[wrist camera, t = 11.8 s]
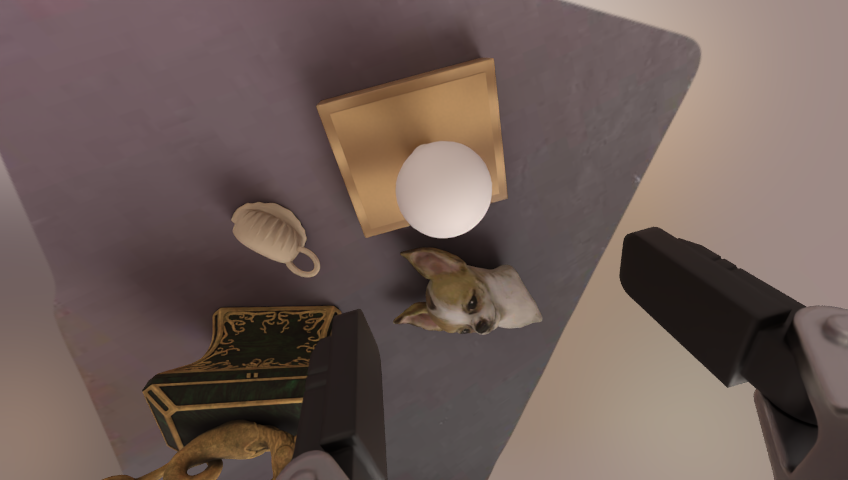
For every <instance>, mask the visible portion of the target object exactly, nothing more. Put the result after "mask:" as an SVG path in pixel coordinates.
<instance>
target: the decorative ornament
mask: <svg viewBox="0 0 848 480" xmlns="http://www.w3.org/2000/svg"><path fill="white" fill-rule="evenodd" d="M231 221H232V222H233V223H234V224H235V226H234V228H233V233H234V235H235V237H236V238H237V239H238V240H239V241H240V242H241V243H242V244H244V245H245V246H247V247H248V248H250V249H252V250H253V251H255V252H257V253H259V254H261V255H263V256H265V257H267V258H270V259H272V260H275V261H278V262H281V263H286V265H287V267H288V268H289V269H290V270H291V271H292V272H293V273H295V274H297V275H299V276H302V277H313V276H315V275H316V274H317V273H318V272H319V270H320V262H319V259H318V258H317V256H316V255H315V254H314V253H313V252H312V251H311V250H309V249H307V248H304V245H305V242H306V240H307V237H306V235H305V229H304V228H303V227H302V226H301V223H300V221H299V220H298V219H297V218H296V217H295V216H294V214H293V213H292V212H291V211H290V210H288V209H285V208H283V207H282V206H280V205H278V204H275V203H266V204H264V203H262V202H256V203H254V204H251V203H246V204H244V205H243V206H241V207H239V208H238V209H237V210H236V211H235V213H234V214H233V217H232V220H231ZM299 252H302V253H304V254H306V255H308V256H309V257H310V258H311V259H312V260H313V262H314V269H313V270H312V271H310V272H305V271H302V270H300V269H298V268H297V267H296V266H295V265H294V264H293V262H292V261H293V260H294V259H295V258H296V256H297V255H298V254H299Z"/></svg>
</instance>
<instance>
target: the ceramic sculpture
mask: <svg viewBox="0 0 848 480" xmlns="http://www.w3.org/2000/svg"><path fill="white" fill-rule="evenodd" d="M400 255H402V256H403V257H405V258H406V259H407V260H408V261H409V262H410V263H411V264H412V266H413V267H414V268H415V269H416V270H417V271H418V272H419V273H420V274H421V275H422V276H423V277H425V278H427V279H430V281H429V284H428V286H427V289H426V302H417V303H414V304H413V305H411V306H410V307H409V308H407V309H406V310H405V311H404V312H403V313H402V314H400V315H399V316H398V317H397V318H395V319H394V321H393V323H394V324H403V323H407V324H411V325H414V326H417V327H422V328H423V329H427V330H437V331H443V330H444V331H446V332H448V333H454V332H458V333H460V334H466V333H472V332H477V333H479V334H488V333H490V332H491V331H492V330H495V329H496V328H497V327H498V326H499V327H503V328H520V327H523V326H525V325H528V324H531V323H534V322H541V321H542V315H541V313H540V311H539V309H538V307H537V305H536V302H535V301H534V299H533V298H532V297H531V295H530V294H529V292H528V290H527V289H526V287H525V286H524V284H523V282H522V280H521V279H520V277H519V275H518V273H517V272H516V270H515V269H514V268H513V267H512V266H510V265H501V266H499V267H497V268H495V269H491V270H489V269H484V268H477V267H473V266H469V265H466V263H465V262H464V261H463V260H462V259H461V258H459V257H458V256H456V255H453V254H451V253H449V252H447V251H444V250H440V249H437V248H424V247H423V248H416V249H412V250H407V251H404V252H401V254H400Z"/></svg>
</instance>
